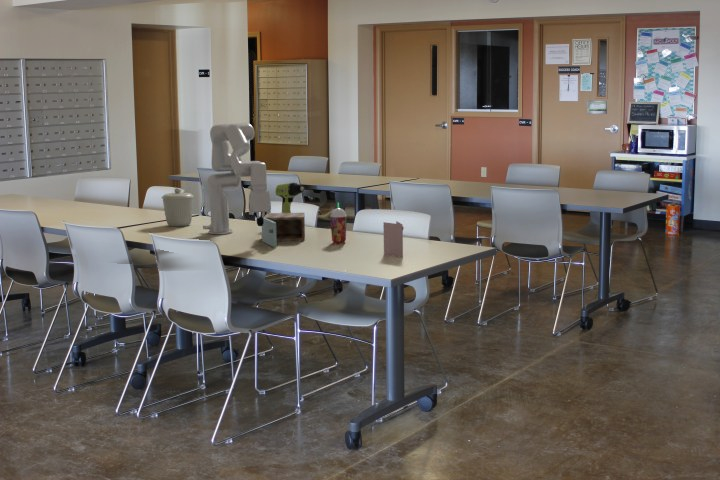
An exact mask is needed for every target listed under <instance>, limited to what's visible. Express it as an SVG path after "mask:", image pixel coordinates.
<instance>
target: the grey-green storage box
mask: <svg viewBox="0 0 720 480" xmlns="http://www.w3.org/2000/svg"><path fill="white" fill-rule="evenodd" d="M263 219H264V224H263V226H261V240H262V242H263V243H265V244H267V245H269V246H270V247H273V248H277V247H278V246H277V243H278V241H277V239H276V222H273V221H271V220H269V219H267V218H263Z"/></svg>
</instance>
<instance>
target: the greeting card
mask: <svg viewBox="0 0 720 480" xmlns="http://www.w3.org/2000/svg"><path fill="white" fill-rule="evenodd" d="M404 228H405V227H404V225H403V224H402V223H401V222H399V221H397V220H396V222H395V223H392V222H384V221H383V256H389V257H390V256H391V257H396V258H397V257H398V258H403V257H404V237H403V235H404V234H403V233H404V232H403V231H404Z"/></svg>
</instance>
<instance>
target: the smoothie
mask: <svg viewBox="0 0 720 480" xmlns="http://www.w3.org/2000/svg"><path fill="white" fill-rule="evenodd" d="M329 217H330V219H329V220H330V228H331V229H330V231H331V232H330V233H331V241H332V243H333V244H335V245H336V244H337V245H341V244H345V243H346V239H347V224H348V223H347V222H348V221H347V218H348V214H347V213H346V211H345V210H344V209H343V208H340V202H337V207H336V208H335V209H333V210H332V211H331V213H330V214H329Z"/></svg>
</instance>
